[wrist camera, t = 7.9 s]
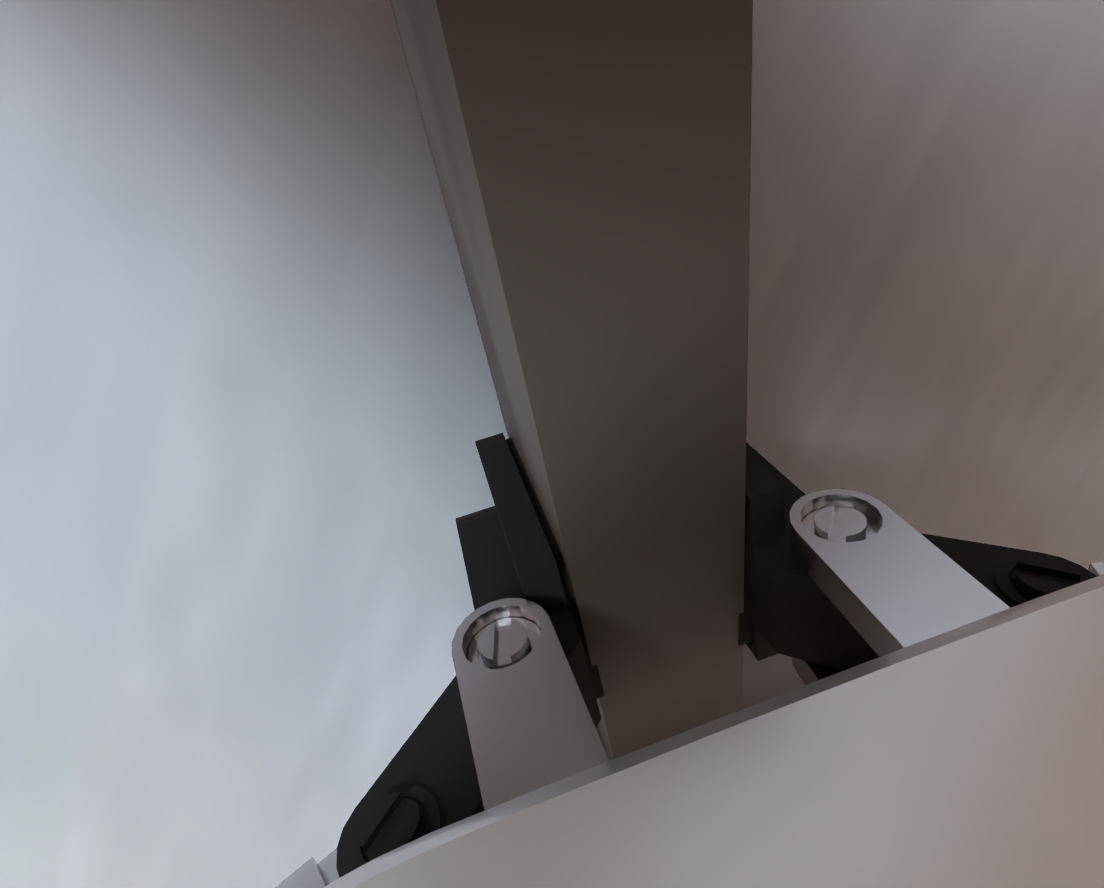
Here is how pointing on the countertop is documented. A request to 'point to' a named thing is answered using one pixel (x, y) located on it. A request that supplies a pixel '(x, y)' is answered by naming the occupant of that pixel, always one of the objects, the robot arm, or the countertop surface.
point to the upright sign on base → (614, 314)
